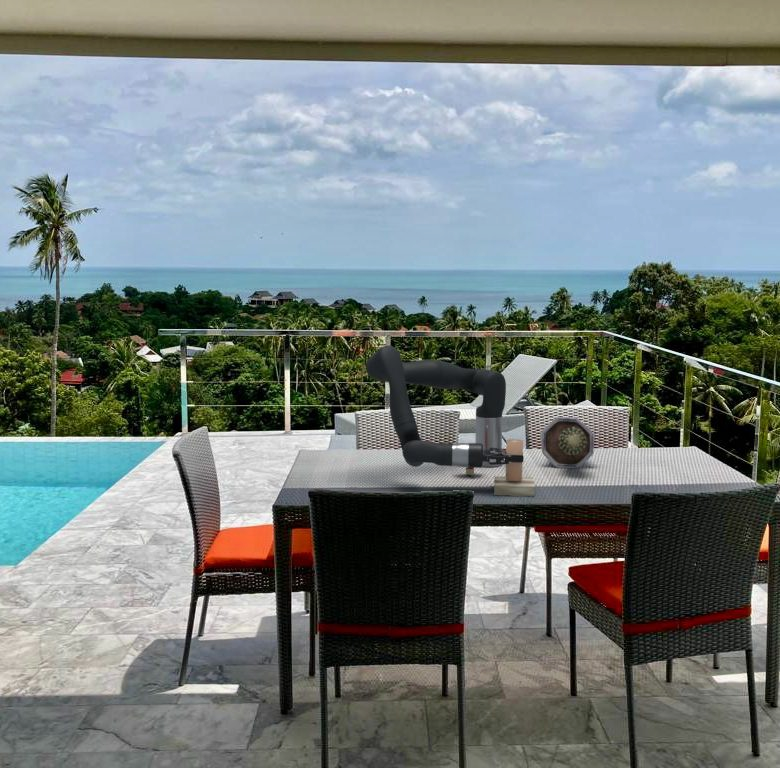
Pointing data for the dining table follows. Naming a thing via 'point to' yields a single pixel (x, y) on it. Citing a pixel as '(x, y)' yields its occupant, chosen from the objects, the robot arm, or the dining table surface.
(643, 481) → the dining table surface
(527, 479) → the base slab
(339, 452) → the dining table surface
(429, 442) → the robot arm
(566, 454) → the potted plant
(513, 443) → the tall pink cylinder
